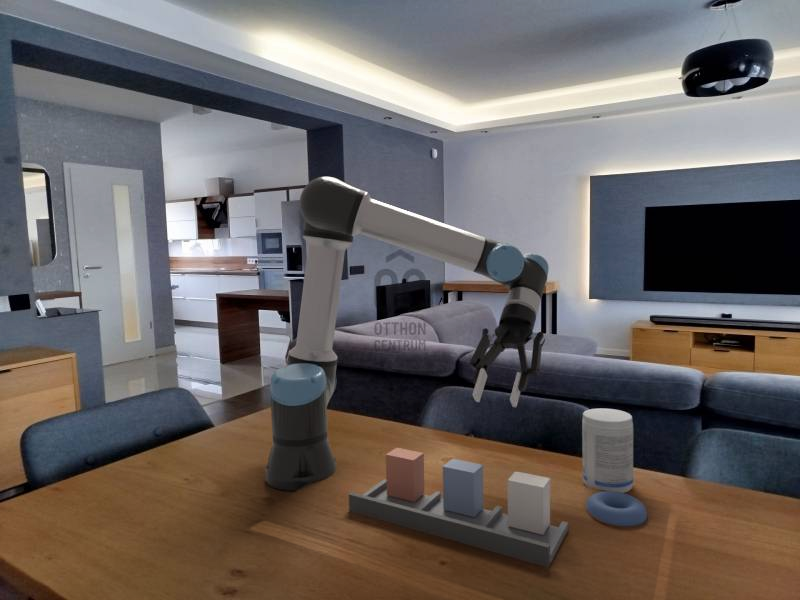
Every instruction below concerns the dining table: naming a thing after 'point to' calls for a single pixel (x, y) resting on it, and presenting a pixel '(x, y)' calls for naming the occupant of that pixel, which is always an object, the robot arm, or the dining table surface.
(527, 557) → the grey divided tray
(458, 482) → the blue rectangular block
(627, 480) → the supplement tub
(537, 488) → the white rectangular block
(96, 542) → the dining table surface
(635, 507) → the doughnut
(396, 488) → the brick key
